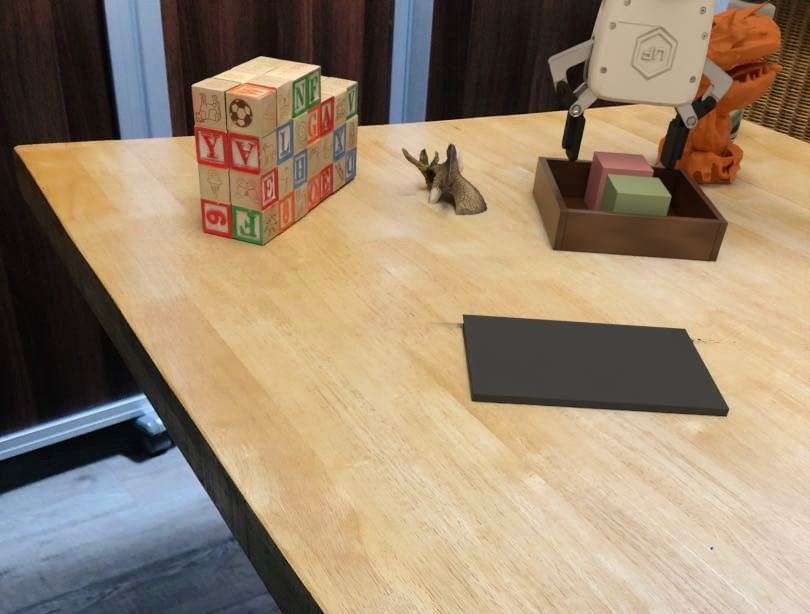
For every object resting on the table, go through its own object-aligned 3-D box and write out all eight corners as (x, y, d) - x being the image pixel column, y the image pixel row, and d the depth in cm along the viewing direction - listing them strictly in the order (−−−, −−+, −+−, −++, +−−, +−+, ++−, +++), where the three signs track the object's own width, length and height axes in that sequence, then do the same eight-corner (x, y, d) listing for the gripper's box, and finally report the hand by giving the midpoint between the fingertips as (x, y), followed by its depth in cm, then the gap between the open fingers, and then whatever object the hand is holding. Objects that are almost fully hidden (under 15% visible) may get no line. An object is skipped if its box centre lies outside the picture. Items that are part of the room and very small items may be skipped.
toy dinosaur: (742, 202, 95) (803, 15, 84) (643, 184, 97) (690, -1, 86) (745, 173, 103) (801, -1, 92) (654, 157, 106) (698, -15, 94)
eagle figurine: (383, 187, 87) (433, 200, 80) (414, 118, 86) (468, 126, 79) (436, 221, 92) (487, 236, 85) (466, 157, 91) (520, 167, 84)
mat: (683, 335, 69) (685, 328, 69) (727, 416, 60) (730, 408, 60) (461, 320, 68) (462, 313, 68) (472, 401, 59) (473, 393, 59)
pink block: (630, 204, 90) (642, 154, 87) (641, 222, 87) (654, 170, 83) (583, 201, 90) (594, 150, 87) (592, 218, 86) (603, 166, 83)
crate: (673, 208, 92) (684, 167, 90) (714, 267, 81) (728, 222, 78) (531, 197, 91) (538, 156, 89) (551, 256, 80) (560, 210, 77)
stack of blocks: (303, 166, 93) (303, 37, 85) (357, 177, 92) (361, 47, 84) (201, 232, 78) (189, 82, 70) (264, 246, 76) (258, 95, 68)
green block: (645, 230, 85) (659, 177, 82) (657, 250, 81) (671, 196, 78) (595, 226, 85) (607, 173, 82) (605, 246, 81) (617, 192, 78)
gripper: (577, -51, 71) (537, 166, 82) (781, -28, 72) (714, 183, 83) (563, -62, 76) (527, 142, 87) (752, -41, 78) (693, 158, 89)
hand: (618, 161), depth 85 cm, fingers open, 9 cm apart
